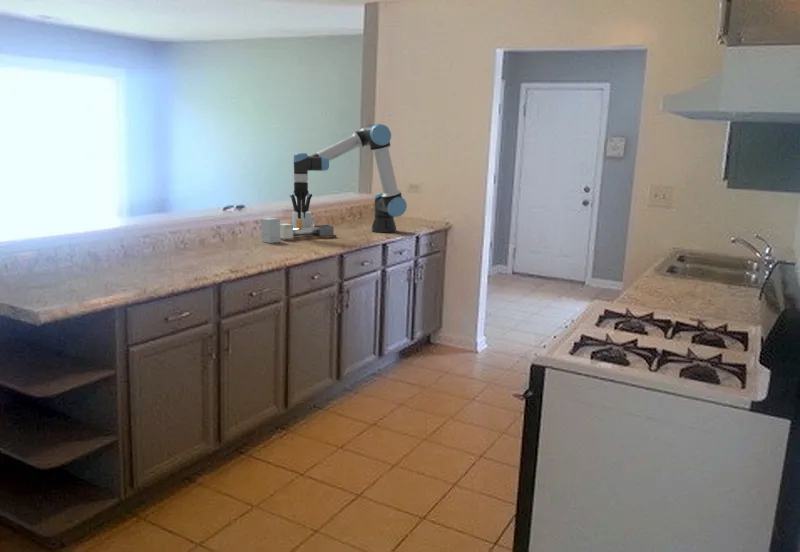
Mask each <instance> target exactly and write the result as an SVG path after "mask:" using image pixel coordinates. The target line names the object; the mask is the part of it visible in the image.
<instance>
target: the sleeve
mask: <svg viewBox="0 0 800 552" xmlns="http://www.w3.org/2000/svg"><path fill="white" fill-rule="evenodd" d="M313 226H314V225H313ZM314 227H319V236H328V235H335V234H334V231H335V230H334V227H335V226H334V225H331V224H322V225H321V224H320V225H316V226H314Z"/></svg>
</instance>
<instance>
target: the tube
mask: <svg viewBox="0 0 800 552" xmlns="http://www.w3.org/2000/svg"><path fill="white" fill-rule="evenodd" d="M305 235H319V227H313V226H311V228H302V220H299V219H298V220H296V229H293V236H305Z"/></svg>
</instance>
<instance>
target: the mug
mask: <svg viewBox="0 0 800 552" xmlns="http://www.w3.org/2000/svg"><path fill="white" fill-rule="evenodd" d="M301 213H302V212H301ZM312 215H313V214H312V211H307V212H306V213H305V218H304V225H302V228H312V227H314V226H317V219H316V217H315V216H312ZM312 219H313V220H312ZM296 220H298V213H297V212H295V211H292V225H293V229H296ZM312 221H313V222H314V223H313V226H312Z"/></svg>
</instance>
